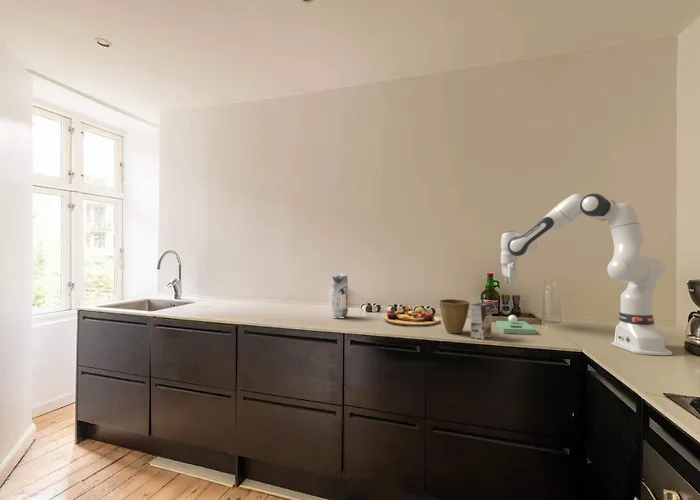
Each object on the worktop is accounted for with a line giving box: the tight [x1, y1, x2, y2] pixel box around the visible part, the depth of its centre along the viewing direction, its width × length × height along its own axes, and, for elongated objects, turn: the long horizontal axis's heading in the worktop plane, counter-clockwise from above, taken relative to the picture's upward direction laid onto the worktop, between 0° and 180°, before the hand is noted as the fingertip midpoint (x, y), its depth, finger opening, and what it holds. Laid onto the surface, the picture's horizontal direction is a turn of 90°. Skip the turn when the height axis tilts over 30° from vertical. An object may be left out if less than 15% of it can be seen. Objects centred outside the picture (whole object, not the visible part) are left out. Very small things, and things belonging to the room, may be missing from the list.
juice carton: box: [331, 273, 349, 318], centre depth 240 cm, size 9×10×27 cm
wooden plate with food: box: [384, 305, 441, 327], centre depth 227 cm, size 32×32×8 cm
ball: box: [507, 314, 518, 323], centre depth 207 cm, size 4×4×4 cm
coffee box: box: [470, 302, 493, 339], centre depth 188 cm, size 9×6×16 cm
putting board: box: [495, 320, 537, 335], centre depth 203 cm, size 20×15×2 cm
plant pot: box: [438, 298, 470, 334], centre depth 198 cm, size 15×15×16 cm
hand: (509, 284), depth 217 cm, fingers open, 8 cm apart
